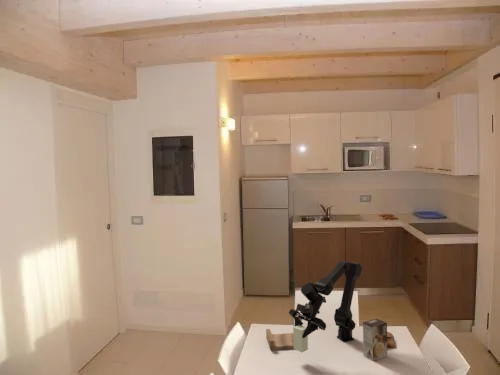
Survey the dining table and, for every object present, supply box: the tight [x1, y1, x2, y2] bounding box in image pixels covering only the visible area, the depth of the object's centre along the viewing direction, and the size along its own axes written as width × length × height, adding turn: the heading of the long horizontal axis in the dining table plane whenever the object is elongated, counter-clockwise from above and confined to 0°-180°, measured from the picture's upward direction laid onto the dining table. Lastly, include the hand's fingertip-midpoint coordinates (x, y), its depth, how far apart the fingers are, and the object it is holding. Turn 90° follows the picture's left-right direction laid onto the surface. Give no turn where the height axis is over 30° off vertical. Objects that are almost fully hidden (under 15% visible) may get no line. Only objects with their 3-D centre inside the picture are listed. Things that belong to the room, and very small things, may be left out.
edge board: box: [265, 328, 295, 351], centre depth 196 cm, size 16×14×4 cm
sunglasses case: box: [387, 331, 397, 350], centre depth 196 cm, size 18×7×7 cm, turn 169°
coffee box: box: [362, 318, 388, 362], centre depth 179 cm, size 9×6×16 cm
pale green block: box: [292, 325, 309, 353], centre depth 176 cm, size 4×5×10 cm
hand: (298, 335), depth 175 cm, fingers closed on pale green block, 5 cm apart
